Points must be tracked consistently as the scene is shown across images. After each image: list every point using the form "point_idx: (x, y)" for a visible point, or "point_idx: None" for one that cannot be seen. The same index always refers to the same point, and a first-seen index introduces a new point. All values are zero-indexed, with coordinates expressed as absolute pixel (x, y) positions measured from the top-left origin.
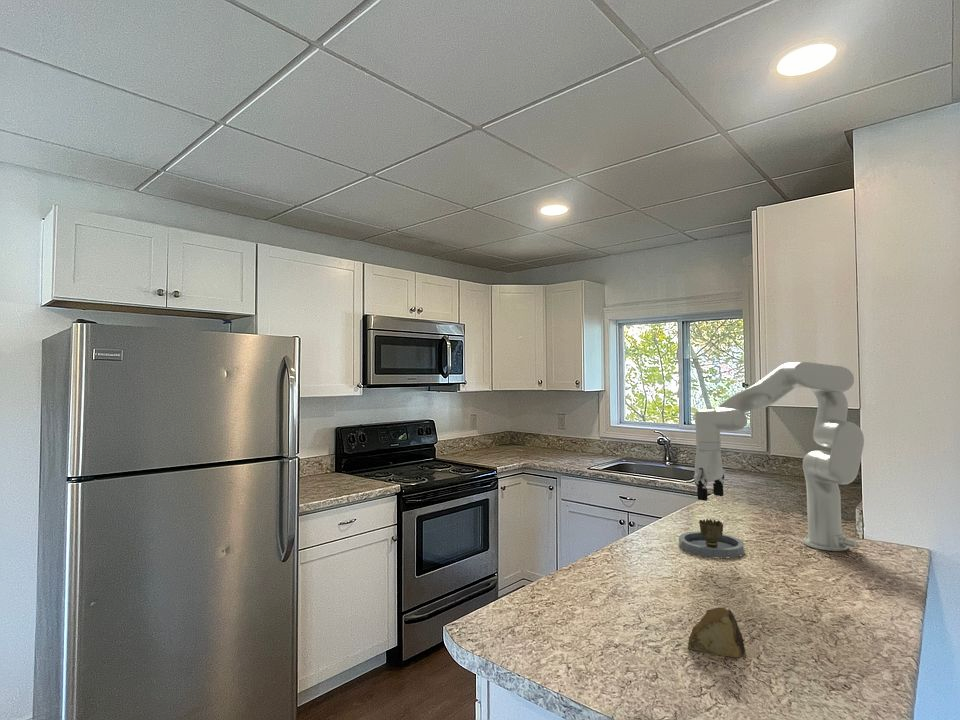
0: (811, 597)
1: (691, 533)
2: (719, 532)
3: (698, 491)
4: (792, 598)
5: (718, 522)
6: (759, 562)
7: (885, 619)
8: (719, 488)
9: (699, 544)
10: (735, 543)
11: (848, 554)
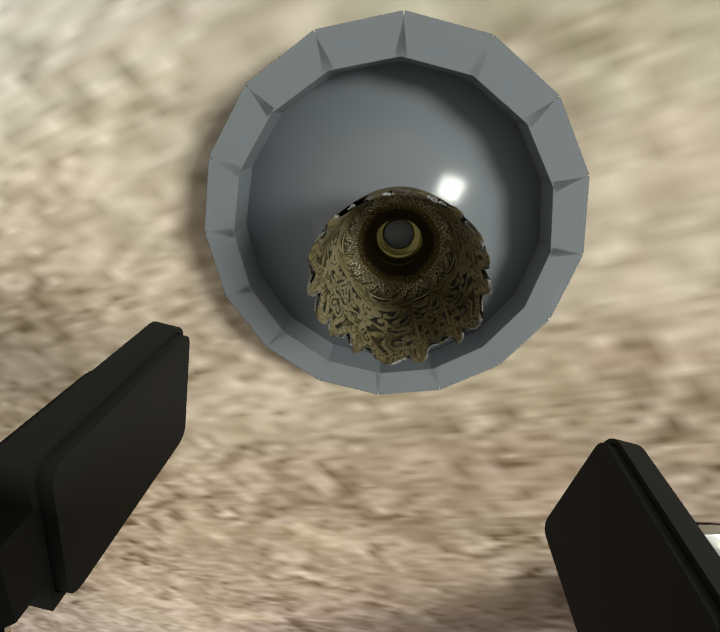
0: (128, 545)
1: (477, 76)
2: (362, 322)
3: (18, 429)
4: None
5: (470, 315)
6: (319, 429)
7: (133, 626)
8: (601, 618)
9: (382, 165)
10: (478, 335)
11: None
